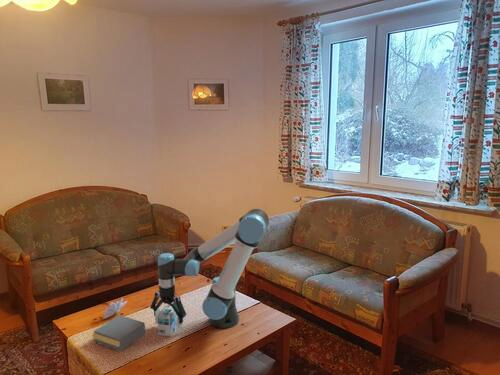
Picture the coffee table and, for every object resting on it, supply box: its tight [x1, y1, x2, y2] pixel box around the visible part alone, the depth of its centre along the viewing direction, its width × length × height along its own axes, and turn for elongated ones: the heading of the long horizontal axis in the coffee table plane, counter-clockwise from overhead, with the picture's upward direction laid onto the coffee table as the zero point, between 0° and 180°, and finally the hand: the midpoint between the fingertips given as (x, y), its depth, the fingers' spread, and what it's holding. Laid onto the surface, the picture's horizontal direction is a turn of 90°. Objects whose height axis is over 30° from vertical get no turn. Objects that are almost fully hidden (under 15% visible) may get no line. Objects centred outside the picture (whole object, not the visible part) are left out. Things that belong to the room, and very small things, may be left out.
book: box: [92, 314, 146, 352], centre depth 179 cm, size 16×17×6 cm
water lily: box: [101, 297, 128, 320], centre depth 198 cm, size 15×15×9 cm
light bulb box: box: [157, 304, 178, 337], centre depth 186 cm, size 11×7×11 cm, turn 168°
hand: (168, 325), depth 187 cm, fingers open, 13 cm apart
